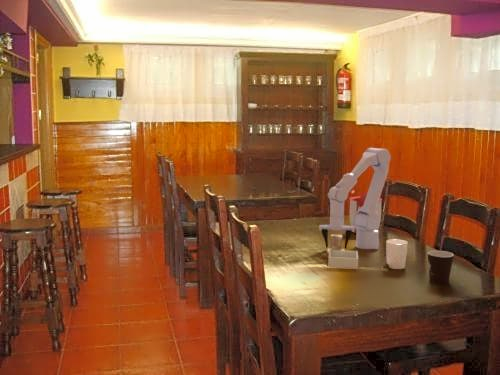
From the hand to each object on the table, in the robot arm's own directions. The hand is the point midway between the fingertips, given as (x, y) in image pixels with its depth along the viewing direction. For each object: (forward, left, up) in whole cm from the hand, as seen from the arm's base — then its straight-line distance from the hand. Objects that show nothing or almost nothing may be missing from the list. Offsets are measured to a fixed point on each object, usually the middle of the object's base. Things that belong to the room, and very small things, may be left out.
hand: (336, 247), depth 224 cm
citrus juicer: (-13, -41, -3) cm, 43 cm away
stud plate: (0, 0, -3) cm, 3 cm away
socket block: (0, 0, -1) cm, 1 cm away
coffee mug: (-37, +29, -3) cm, 47 cm away
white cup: (-23, +15, -3) cm, 28 cm away
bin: (-3, +15, -3) cm, 16 cm away
